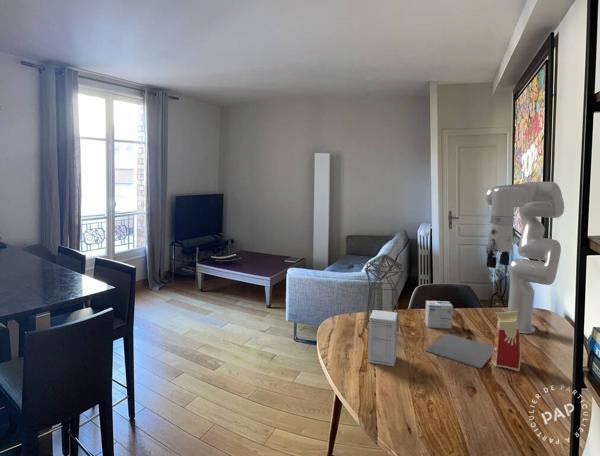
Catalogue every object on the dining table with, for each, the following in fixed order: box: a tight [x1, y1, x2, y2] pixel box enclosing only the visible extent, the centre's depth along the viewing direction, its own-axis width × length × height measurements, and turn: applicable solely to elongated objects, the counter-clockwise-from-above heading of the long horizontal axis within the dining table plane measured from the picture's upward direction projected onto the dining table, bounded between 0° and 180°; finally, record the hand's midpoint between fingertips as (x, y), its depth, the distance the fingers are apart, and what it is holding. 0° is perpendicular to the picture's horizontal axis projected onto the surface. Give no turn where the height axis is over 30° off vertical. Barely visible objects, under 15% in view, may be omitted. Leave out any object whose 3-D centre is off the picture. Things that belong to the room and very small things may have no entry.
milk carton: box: [490, 311, 522, 372], centre depth 134 cm, size 9×9×20 cm
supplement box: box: [367, 309, 399, 367], centre depth 136 cm, size 10×9×17 cm
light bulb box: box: [424, 300, 454, 330], centre depth 170 cm, size 11×7×11 cm, turn 84°
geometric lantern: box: [364, 253, 405, 333], centre depth 156 cm, size 16×16×35 cm
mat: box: [425, 333, 494, 370], centre depth 145 cm, size 22×20×1 cm
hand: (497, 266), depth 141 cm, fingers open, 9 cm apart
